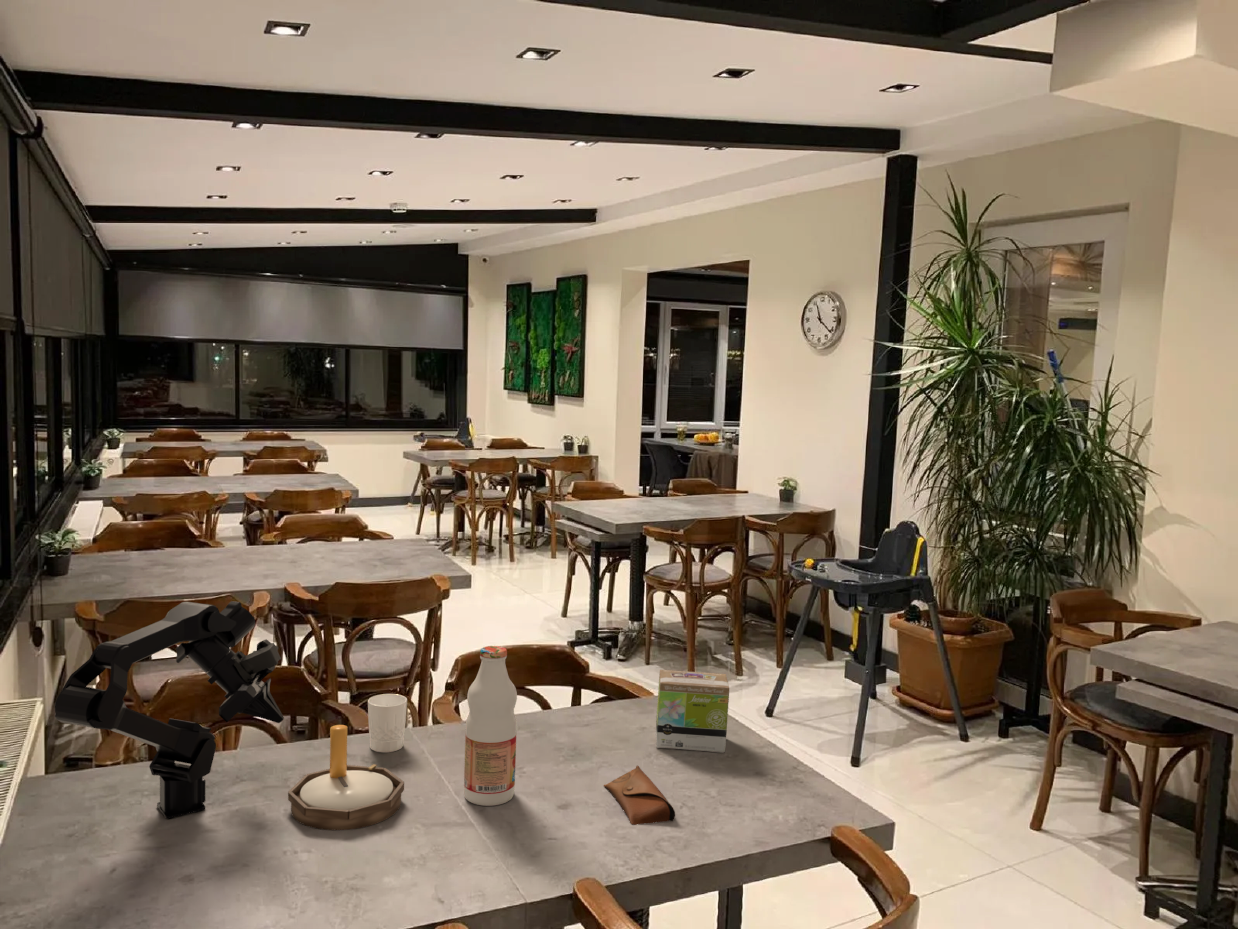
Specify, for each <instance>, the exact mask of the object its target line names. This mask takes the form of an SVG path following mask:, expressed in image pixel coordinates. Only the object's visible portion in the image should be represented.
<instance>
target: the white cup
mask: <svg viewBox="0 0 1238 929" xmlns="http://www.w3.org/2000/svg"><path fill="white" fill-rule="evenodd" d="M407 706H408V698H407V697H406V696H404V695H401V694H396V693H383V694H377V695H373V696H371V697H369V699H368V700H367V708H368V709H367V711H368V712H367V713H368V714H367V716H368V732H369V733H368V735H369V747H370V749H371V750H372V751H374V752H377V753H393V752H397V751H398V750H401V749H402V748H403V746H404V740H405V739H404V738H405V731H406V722H407V721H406V719H407Z"/></svg>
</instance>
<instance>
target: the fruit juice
mask: <svg viewBox="0 0 1238 929" xmlns="http://www.w3.org/2000/svg"><path fill="white" fill-rule="evenodd" d="M507 657H508V650H507V648H506V647H504V646H501V645H486V646H483V647H481V648H480V651H479V658H480V660H481V663H480V666H479V669H478V672H477V674H476V677H475V679H474V681H473V682H472V683H471V684H470V686H469V688H468V691H467V695H466V696H467V697H466V698H467V699H466V701H467V705H468V709H469V713H468V715H467V716H466V722H465V736H464V737H465V740H464V741H465V743H464V766H463V767H464V770H463V771H464V773H463V775H464V776H463V794H464V798H465V799H466V801H468V802H469V803H471V804H474V805H477V806H482V807H483V806H484V807H485V806H487V807H491V806H493V807H494V806H499V805H503V804H505V803H508V802H509V801H510V800H512V798H513V797H514V795H515V786H516V759H517V758H516V757H517V754H516V753H517V732H518V730H517V728H518V727H517V726H518V725H517V716H516V715H515V708H516V704H517V700H518V693H517V688H516V686H515V684H514V683H513V682H512V680H511V679H510V676H509V674H508V670H507V666H506V659H507Z"/></svg>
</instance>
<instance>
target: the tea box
mask: <svg viewBox="0 0 1238 929" xmlns="http://www.w3.org/2000/svg"><path fill="white" fill-rule="evenodd" d="M657 688H658V689H657V690H658V692H657V706H656V719H655V720H656V721H655V740H656V741H655V742H656V743H655V745H656V746H655V747H656V749H675V750H676V749H677V750H689V751H698V752H699V751H700V752H701V751H702V752H708V753H709V752H711V753H721V754H724V753H725V751H726V747H727V746H726V744H727V731H728V730H727V729H728V714H729V712H728V711H729V703H730V685H729V682H728V676H727V674H726V673H713V672H701V671H699V672H698V671H686V670H685V671H684V670H671V669H670V670H669V669H660V670H659V676H658V687H657Z"/></svg>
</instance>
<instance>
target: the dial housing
mask: <svg viewBox="0 0 1238 929" xmlns="http://www.w3.org/2000/svg"><path fill="white" fill-rule="evenodd" d="M377 766H378V765H377V764H374V763H373V764H371V765H370V766H364V765H355V764H352V765H351V764H347V771H350V770H360V771H370V772H375V773H379V774H381V775H384V776H386V777H387V778H389V779H390V780H391V782H392V784H393V793H392V795H391V796H390V797H389V799H388V800H385V801H381V802H377V803H373V804H370V805H366V806H362V807H359V808H355V809H351V810H340V809H329V808H317V807H307V806H306V805H305V804H304V803H303V802H302V801H301V800H300V791H301V789H302V787H303V786H304V785H305V784H306V783H307V782H309V781H310V780H312V779H314V778H316V777H319V776H322V775H325V774H329V773H330V768H327V769H322V770H318V771H313V772H309V773H306V774H305V775H304V776H302V778H301V779H300V780H298V782H296V783H295V784H294V785H293V786H292V787H291V788H290V789H289V790H288V791H287V795H288V796H287V801H288V802H290V813H291V816H292V817H293V819H294V820H295V821H297V823H299V824H301V825H303V826H306V827H310V828H312V829H318V830H325V831H348V830H357V829H361V828H365V827H370V826H373V825H376V824H378V823H381V822H384V821H385V820H387V819H389V818H391V817H392V816H394V815H395V814H396V813H397V812H398V811H399V810H400V808H401V805H402V794H403V792H404V791H405V781H403V780H402V779H401V778H399V777H398V776H397V775H396V774H394V773H393V772H392V771H390V770H389V769H388V768H385V767H381V766H380V767H377Z"/></svg>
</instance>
